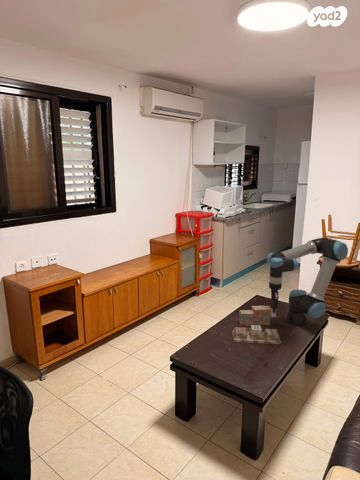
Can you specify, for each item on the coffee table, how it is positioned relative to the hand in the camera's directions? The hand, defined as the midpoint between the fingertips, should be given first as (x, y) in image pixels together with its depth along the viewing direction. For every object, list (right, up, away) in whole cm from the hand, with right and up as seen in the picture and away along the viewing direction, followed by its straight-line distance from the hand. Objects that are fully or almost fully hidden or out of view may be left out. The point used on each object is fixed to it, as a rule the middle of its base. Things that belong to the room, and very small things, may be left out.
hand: (273, 316), depth 210 cm
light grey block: (0, -14, +3) cm, 14 cm away
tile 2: (-10, -11, +4) cm, 16 cm away
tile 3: (-20, -13, +5) cm, 25 cm away
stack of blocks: (-7, -11, +25) cm, 28 cm away
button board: (-10, -15, +5) cm, 19 cm away
